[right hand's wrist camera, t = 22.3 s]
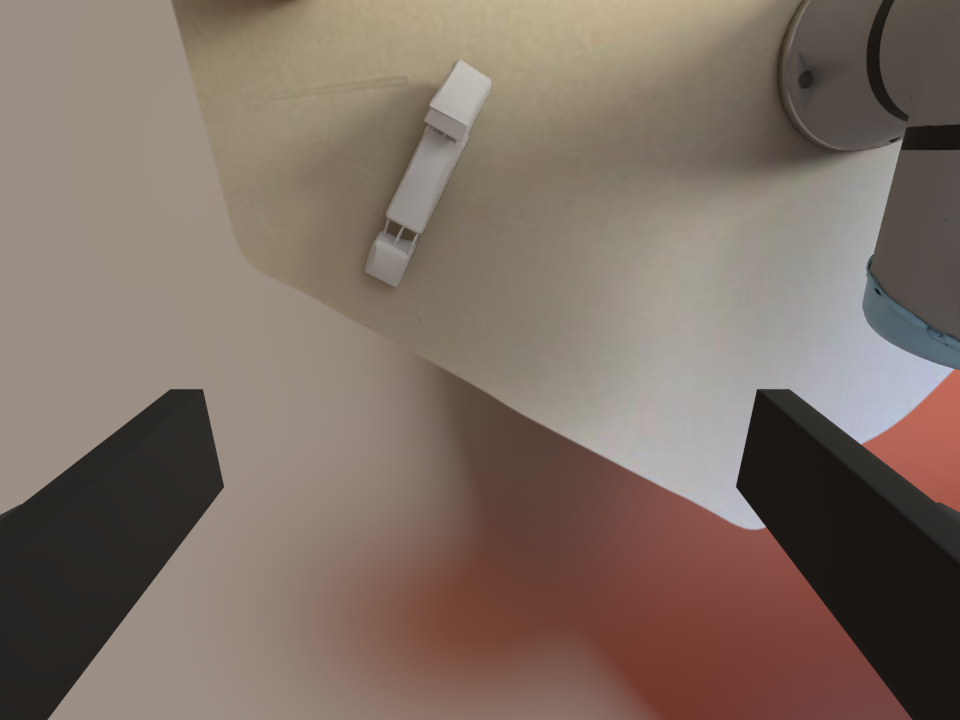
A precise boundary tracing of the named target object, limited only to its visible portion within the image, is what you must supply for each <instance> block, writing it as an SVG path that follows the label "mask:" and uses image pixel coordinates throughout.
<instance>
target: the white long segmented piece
mask: <svg viewBox="0 0 960 720" xmlns="http://www.w3.org/2000/svg"><path fill="white" fill-rule="evenodd" d="M491 88H492V82H491V80H490V79H489V78H488V77H486V76H485V75H483V74H482V73H480V72H478V71H477V70H475V69H474V68H472V67H471V66H469V65H468V64H466V63H465V62H463V61H462V60H460V59H459V60H457V61H455V62H454V64H453V66H452V68H451V70H450V72H449V73H448V75H447V76H446V78H445V80H444V81H443V83H442V85H441V86H440V88H439V90H438V91H437V93H436V94H435V96H434V98H433V99H432V101H431V102H430V104H429V105H430V108H429V110H428V112H427V114H426V116H425V118H424V120H423V121H424V122H426V123H428V125H427V126H426V128H425V130H424V133H423V136H422V138H421V140H420V142H419V144H418V146H417V148H416V150H415V152H414V154H413V157H412V159H411V161H410V163H409V165H408V168H407V170H406V172H405V174H404V176H403V178H402V181H401V183H400V185H399V187H398V189H397V191H396V193H395V195H394V197H393V199H392V201H391V203H390V205H389V207H388V209H387V211H386V217H387V222H386V226H385V229H384V231H383V230H382V231H381V232H380V233H379V235H378V236H377V238H376V239H375V241H374V242H373V244H372V246H371V249H370V251H369V254H368V258H367V263H366V267H365V272H366V273H368V274H370V275H372V276H374V277H376V278H378V279H380V280H382V281H384V282H386V283H388V284H390V285H392V286H394V287H397V286H398V285H399V283H400V280H401V278H402V276H403V274H404V273H405V270H406V268H407V266H408V263H409V261H410V259H411V257H412V254H413V252H414V250H415V247H416V241H417V238H418V236H419V234H422V233H423V232H424V231H425V229H426V227H427V225H428V223H429V221H430V219H431V216H432V214H433V212H434V210H435V208H436V206H437V204H438V202H439V200H440V198H441V195H442V193H443V191H444V189H445V187H446V185H447V183H448V181H449V179H450V177H451V175H452V173H453V170H454V168H455V166H456V164H457V162H458V160H459V158H460V156H461V154H462V152H463V150H464V148H465V145H466V143H467V141H468V139H469V131H470V129H471V127H472V126H473V124H474V122H475V120H476V118H477V116H478V114H479V112H480V111H481V109H482V107H483V105H484V103H485V101H486V99H487V97H488V94H489V92H490V90H491ZM390 220H391V221H393V222H395V223H397V224H399V225H401V226H402V228H401V230H400V231H399V233H398V235H397V237H396V236H394V235H392V234H390V233H388V232H386V231H387V228H388V225H389V222H390ZM404 228H407V229H409V230H411V231H413V232H415V233H416V235H415V237H414V240H413V241H410V240H406V239H401V238H400V237H401V234H402V232H403V230H404Z"/></svg>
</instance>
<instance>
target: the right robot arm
mask: <svg viewBox="0 0 960 720" xmlns="http://www.w3.org/2000/svg"><path fill="white" fill-rule="evenodd" d="M778 82H779V91H780V97H781V101H782V104H783V107H784V109H785V112H786V114H787V116H788V118H789V120H790V121H791V123H792V124H793V125H794V127H795V128H796V129H797V130H798V131H799V132H800V133H801V134H802V135H803V136H804V137H805V138H807V139H808V140H810V141H811V142H813V143H815V144H817V145H820V146H822V147H825V148H829V149H833V150H846V151H860V150H870V149H875V148H879V147H882V146H886V145H889V144H892V143H895V142H898V141H900V140H902V139H903V142H902V146H901V150H900V153H899V157H898V161H897V165H896V169H895V172H894V176H893V180H892V184H891V188H890V192H889V196H888V200H887V204H886V208H885V212H884V216H883V220H882V224H881V228H880V232H879V236H878V240H877V244H876V247H875V251H874V255H872V256H871V257H870V259H869V261H868V263H867V268H866V270H867V278H868V279H867V284H866V289H865V294H864V299H863V310H864V315H865V317H866V320H867V322H868V324H869V325H870V326H871V327H872V328H873V330H874V331H875V332H876V333H878V334H879V335H880V336H881V337H883V338H884V339H885V340H887V341H888V342H890V343H892V344H893V345H895V346H897V347H899V348H901V349H903V350H905V351H907V352H909V353H911V354H914V355H916V356H918V357H921V358H923V359H926V360H929V361H931V362H934V363H937V364H940V365H943V366H946V367H950V368H954V369H958V370H960V0H804V1H803V2H802V4H801V5H800V7H799V8H798V10H797V12H796V14H795V15H794V17H793V19H792V21H791V23H790V25H789V28H788V30H787V33H786V35H785V38H784V42H783V45H782V49H781V54H780V59H779V68H778ZM223 488H224V485H223V480H222V475H221V471H220V466H219V462H218V457H217V452H216V448H215V443H214V438H213V434H212V429H211V425H210V420H209V415H208V411H207V406H206V402H205V397H204V392H203V389H170V390H169V391H168V392H166V393H165V394H164V395H163V396H161V397H160V398H159V399H157V400H156V401H155V402H154V403H152V404H151V405H150V406H148V407H147V408H146V409H145V410H143V411H142V412H141V413H139V414H138V415H137V416H135V417H134V418H133V419H132V420H130V421H129V422H128V423H126V424H125V425H124V426H123V427H121V428H120V429H119V430H117V431H116V432H115V433H114V434H112V435H111V436H110V437H108V438H107V439H106V440H105V441H103V442H102V443H101V444H99V445H98V446H97V447H95V448H94V449H93V450H92V451H90V452H89V453H88V454H86V455H85V456H84V457H83V458H81V459H80V460H79V461H77V462H76V463H75V464H73V465H72V466H71V467H70V468H68V469H67V470H66V471H64V472H63V473H62V474H61V475H59V476H58V477H57V478H55V479H54V480H53V481H52V482H50V483H49V484H48V485H46V486H45V487H44V488H43V489H41V490H40V491H39V492H37V493H36V494H35V495H34V496H32V497H31V498H30V499H28V500H27V501H26V502H24V503H23V504H22V505H19V506H17V507H15V508H13V509H11V510H9V511H7V512H5V513H3V514H1V515H0V720H47V719H48V718H49V717H50V716H51V714H52V713H53V712H54V710H55V709H56V708H57V706H58V705H59V704H60V702H61V701H62V700H63V698H64V697H65V696H66V694H67V693H68V692H69V690H70V689H71V688H72V687H73V685H74V684H75V683H76V681H77V680H78V679H79V677H80V676H81V675H82V673H83V672H84V671H85V669H86V668H87V667H88V665H89V664H90V663H91V662H92V660H93V659H94V658H95V656H96V655H97V654H98V652H99V651H100V650H101V648H102V647H103V646H104V644H105V643H106V642H107V640H108V639H109V638H110V636H111V635H112V634H113V632H114V631H115V630H116V629H117V627H118V626H119V625H120V623H121V622H122V621H123V619H124V618H125V617H126V615H127V614H128V613H129V611H130V610H131V609H132V608H133V606H134V605H135V604H136V602H137V601H138V600H139V598H140V597H141V596H142V594H143V593H144V592H145V590H146V589H147V588H148V586H149V585H150V584H151V582H152V581H153V580H154V578H155V577H156V576H157V575H158V573H159V572H160V571H161V569H162V568H163V567H164V565H165V564H166V563H167V561H168V560H169V559H170V557H171V556H172V555H173V553H174V552H175V551H176V550H177V548H178V547H179V546H180V544H181V543H182V542H183V540H184V539H185V538H186V536H187V535H188V534H189V532H190V531H191V530H192V528H193V527H194V526H195V524H196V523H197V522H198V521H199V519H200V518H201V517H202V515H203V514H204V513H205V511H206V510H207V509H208V507H209V506H210V505H211V503H212V502H213V501H214V499H215V498H216V497H217V495H218V494H219V493H220V491H221V490H222V489H223ZM736 488H737V489H738V490H739V492H740V493H741V494H742V496H743V497H744V498H745V499H746V501H747V502H748V503H749V505H750V506H751V507H752V509H753V510H754V511H755V513H756V514H757V515H758V517H759V518H760V519H761V521H762V522H763V523H764V524H765V526H766V527H767V528H768V530H769V531H770V532H771V534H772V535H773V536H774V538H775V539H776V540H777V542H778V543H779V544H780V546H781V547H782V548H783V549H784V551H785V552H786V553H787V555H788V556H789V557H790V559H791V560H792V561H793V563H794V564H795V565H796V567H797V568H798V569H799V571H800V572H801V573H802V575H803V576H804V577H805V579H806V580H807V581H808V582H809V584H810V585H811V586H812V588H813V589H814V590H815V592H816V593H817V594H818V596H819V597H820V598H821V600H822V601H823V602H824V604H825V605H826V606H827V608H828V609H829V610H830V611H831V613H832V614H833V615H834V617H835V618H836V619H837V621H838V622H839V623H840V625H841V626H842V627H843V629H844V630H845V631H846V632H847V634H848V635H849V636H850V638H851V639H852V640H853V642H854V643H855V644H856V646H857V647H858V648H859V650H860V651H861V652H862V654H863V655H864V656H865V658H866V659H867V660H868V661H869V663H870V664H871V665H872V667H873V668H874V669H875V671H876V672H877V673H878V675H879V676H880V677H881V679H882V680H883V681H884V683H885V684H886V685H887V687H888V688H889V689H890V691H891V692H892V693H893V694H894V696H895V697H896V698H897V700H898V701H899V702H900V704H901V705H902V706H903V708H904V709H905V710H906V712H907V713H908V714H909V716H910V717H911V718H912V720H960V513H959V512H957V511H956V510H954V509H952V508H950V507H948V506H946V505H944V504H942V503H936V502H934V501H933V500H932V499H930V498H929V497H928V496H927V495H925V494H924V493H923V492H921V491H920V490H919V489H917V488H916V487H915V486H913V485H912V484H911V483H910V482H908V481H907V480H906V479H905V478H903V477H902V476H901V475H899V474H898V473H897V472H896V471H894V470H893V469H892V468H890V467H889V466H888V465H886V464H885V463H884V462H883V461H881V460H880V459H879V458H877V457H876V456H875V455H873V454H872V453H871V452H870V451H868V450H867V449H866V448H865V447H863V446H862V445H861V444H859V443H858V442H857V441H856V440H854V439H853V438H852V437H850V436H849V435H848V434H846V433H845V432H844V431H843V430H841V429H840V428H839V427H837V426H836V425H835V424H834V423H832V422H831V421H830V420H828V419H827V418H826V417H825V416H823V415H822V414H821V413H819V412H818V411H817V410H816V409H814V408H813V407H812V406H810V405H809V404H808V403H806V402H805V401H804V400H803V399H801V398H800V397H799V396H797V395H796V394H795V393H794V392H792V391H791V390H790V389H757V392H756V397H755V402H754V406H753V411H752V415H751V420H750V425H749V429H748V434H747V438H746V443H745V448H744V452H743V457H742V462H741V466H740V471H739V475H738V480H737V485H736Z"/></svg>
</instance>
